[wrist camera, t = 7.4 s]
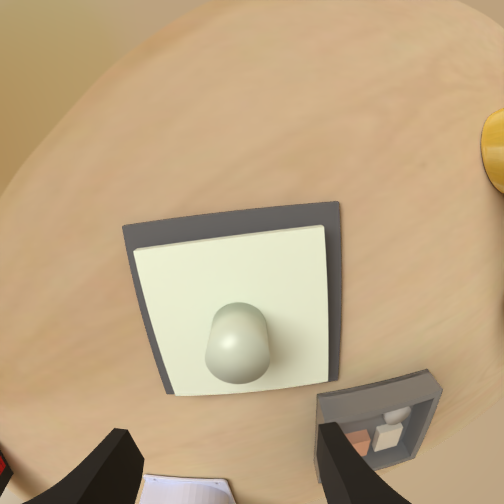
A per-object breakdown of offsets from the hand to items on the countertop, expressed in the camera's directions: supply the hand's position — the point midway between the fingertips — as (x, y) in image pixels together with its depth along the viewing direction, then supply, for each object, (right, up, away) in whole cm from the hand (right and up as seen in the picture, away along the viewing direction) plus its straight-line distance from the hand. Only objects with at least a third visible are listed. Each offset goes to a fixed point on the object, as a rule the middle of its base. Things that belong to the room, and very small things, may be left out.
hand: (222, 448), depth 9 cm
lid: (0, +3, +9) cm, 10 cm away
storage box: (+12, -8, +13) cm, 19 cm away
